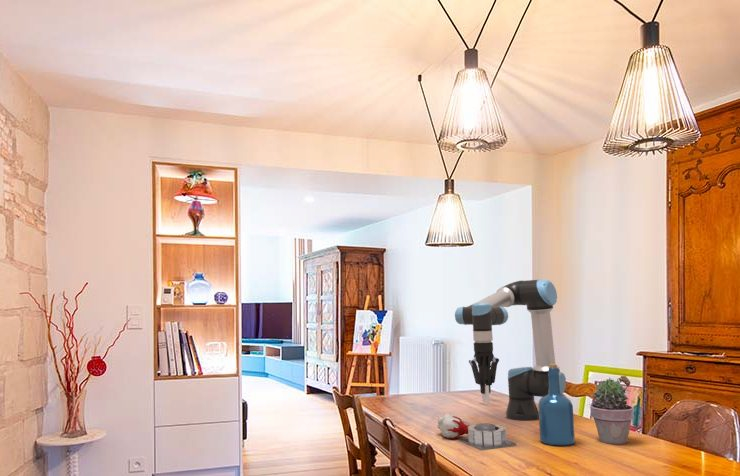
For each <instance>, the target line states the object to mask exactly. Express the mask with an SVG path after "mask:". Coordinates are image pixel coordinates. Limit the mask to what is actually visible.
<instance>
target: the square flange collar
mask: <svg viewBox="0 0 740 476" xmlns="http://www.w3.org/2000/svg"><path fill="white" fill-rule="evenodd" d="M475 425H476V423H475V424H471V425H469V426H468V425H467V426H468V434H467V435H468V437H463V438H458V441H459V442H461V443H463V444H465V445H468V446H470V447H472V448H475V449H478V450H479V451H485V450H494V449H500V448H507V447H515V446H517V445H518V444H517V442H514V441H511V440H509V439H507V429H506V427H505V426H504V425H503V426H502V425H500V424H494V425H495V430H493V431H483V430H477V429H476V426H475Z"/></svg>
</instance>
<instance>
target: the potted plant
mask: <svg viewBox="0 0 740 476" xmlns="http://www.w3.org/2000/svg"><path fill="white" fill-rule="evenodd" d="M622 383H623V384H625V386H626V388H625V387H624V386H623V384H622ZM629 386H631V381H630V379H629V378H628V377H627V376H626V375H621V376H620V377H619V378H617V379H616V380H614V379H611V377H610V376H609V378H606V380H600V382H599V383H598V384H597V385H596V389H593V392H594V393H591V394H589V395H587V396H591V395H593V396H591V397H590V399H594V400H593V401H592V403H591V404H587V405H588V407H589V408H590V409H589V410H590V415H591V417H592V418H593V420H594V424H595V426H596V430H597V431H596V432H597V435H598V437H599V441H600V442H601V443H604V444H608V445H625V444H627V443H628V440H629V435H630V434H629V433H630V429H631V421H632V420H633V419H634V407H633V406H631V405H629V404H627V403H628V400H629V397H628V396H627V395H626V394H625V393H626V391H628V392H631V393H634V392H632V391H630V390H629V389H628V387H629ZM594 390H595V391H594ZM587 405H586V406H587ZM588 407H587V408H588Z"/></svg>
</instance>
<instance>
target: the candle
mask: <svg viewBox="0 0 740 476" xmlns="http://www.w3.org/2000/svg"><path fill="white" fill-rule="evenodd" d="M437 422H438V423H437V428H438V429H439V430H440V431H441V434H442V436H443V437H444V438H449V439H452V440H455V439H457V438H458V439H459V438H460V437H461V436H464V435H468V426H470V425H468V424H466V423H465V422H463V420H462V419H461V418H460V417H458V416H457V415H455V414H454V415H453V414H451V413H448V412H447V413H445V414H444V415H443V416H439V417H438V420H437Z"/></svg>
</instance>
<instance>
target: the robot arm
mask: <svg viewBox="0 0 740 476" xmlns="http://www.w3.org/2000/svg"><path fill="white" fill-rule="evenodd" d="M557 300H558V292H557V289H556V287H555V284H554V283H553V282H552V281H550V280H548V279H531V280H530V279H529V280H516V281H513V282H511V283H508V284H505V285H504V286H502V287H501V286H500V287H499V288H498V289H497V290H496V292H495V293H492V294H491V295H490V294H489V295H488V296H486V297H485V298H483V299H481V300H478V301H476V302H474V303H472V304H471V305H468V306H461V307H457V308H456V310H455V312H454V318H455V321H456V323H457V324H459V325H465V326H468V325H470V326H471V325H472V333H473V341H474V342H473V351H474V353H473V354H474V355H473V358H472V359H470V360H468V363H469V365H470V367H471V371H472V374H473V378H474V382H475V384H477V385H479V388H480V394H481V395H482V396H481V397H482V402H483V403H486V404H488V403H490V394H491V392H492V391H491V390H492V389H491V386H492V385H493V384H495V382H496V374H497V368H498V363H499V362H500V359H499V358H498V357H495V356H494V353H493V352H494V343H493V342H492V341H493V339H494V338H493V327H492V326H501V325H504V324H505V323H507V321H508V319H509V312H508V310H507V309H506V308H509V307H512V306H526V310H527V311H528V312H529V313H530V315H531V327H532V328H531V329H532V335H533V337H532V338H533V339H532V340H533V345H534V347H533V348H534V356H535V365H534V367H532V366H523V367H522V366H521V367H516V368H515V367H514V368H510V369H509V370H508V371H507V382H508V383H507V384H508V385H507V386H508V403H507V406H506V410H505V417H506V418H508V419H509V420H515V421H516V420H517V421H533V420H539V409H538V408H537V407H538V406H537V404H536V402H535V397H539V398H542V397H544V396H546V395H548V393H549V376H548V370H549V367H550V364H556V355H555V345H554V337H553V329H552V318H551V317H552V316H551V311H552V310H553V309H554V305H556V303H557V302H558V301H557ZM557 368H558V371H559V375H560V376H559V383H560V393H562V394H563V395H564V393H565V391H566V390H565V389H566V384H567V379H566V375H565V374H564V372H561V371H560V367H559V365H557Z"/></svg>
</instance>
